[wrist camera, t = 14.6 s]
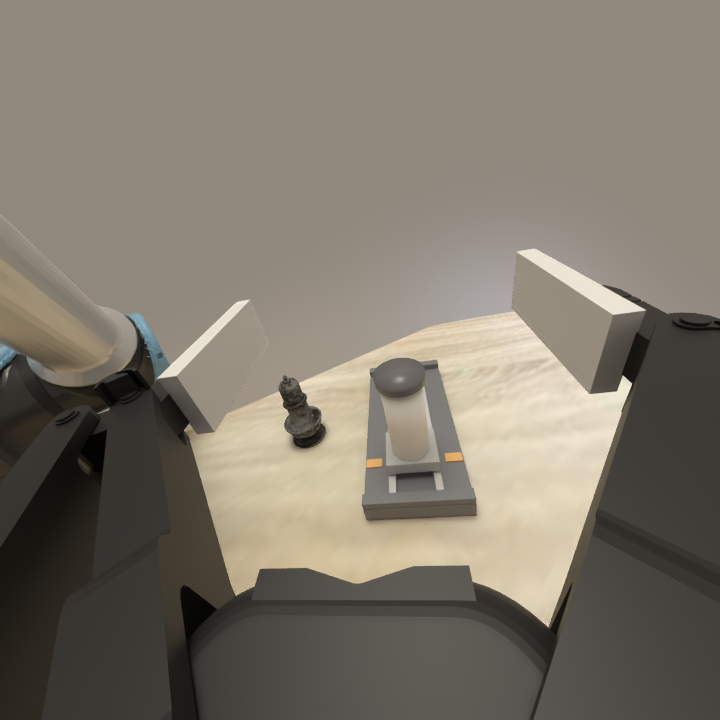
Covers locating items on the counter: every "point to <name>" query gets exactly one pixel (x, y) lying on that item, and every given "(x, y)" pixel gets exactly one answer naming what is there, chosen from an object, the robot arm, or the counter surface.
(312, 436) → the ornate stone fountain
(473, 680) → the robot arm
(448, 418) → the console
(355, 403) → the counter surface
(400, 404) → the fader
